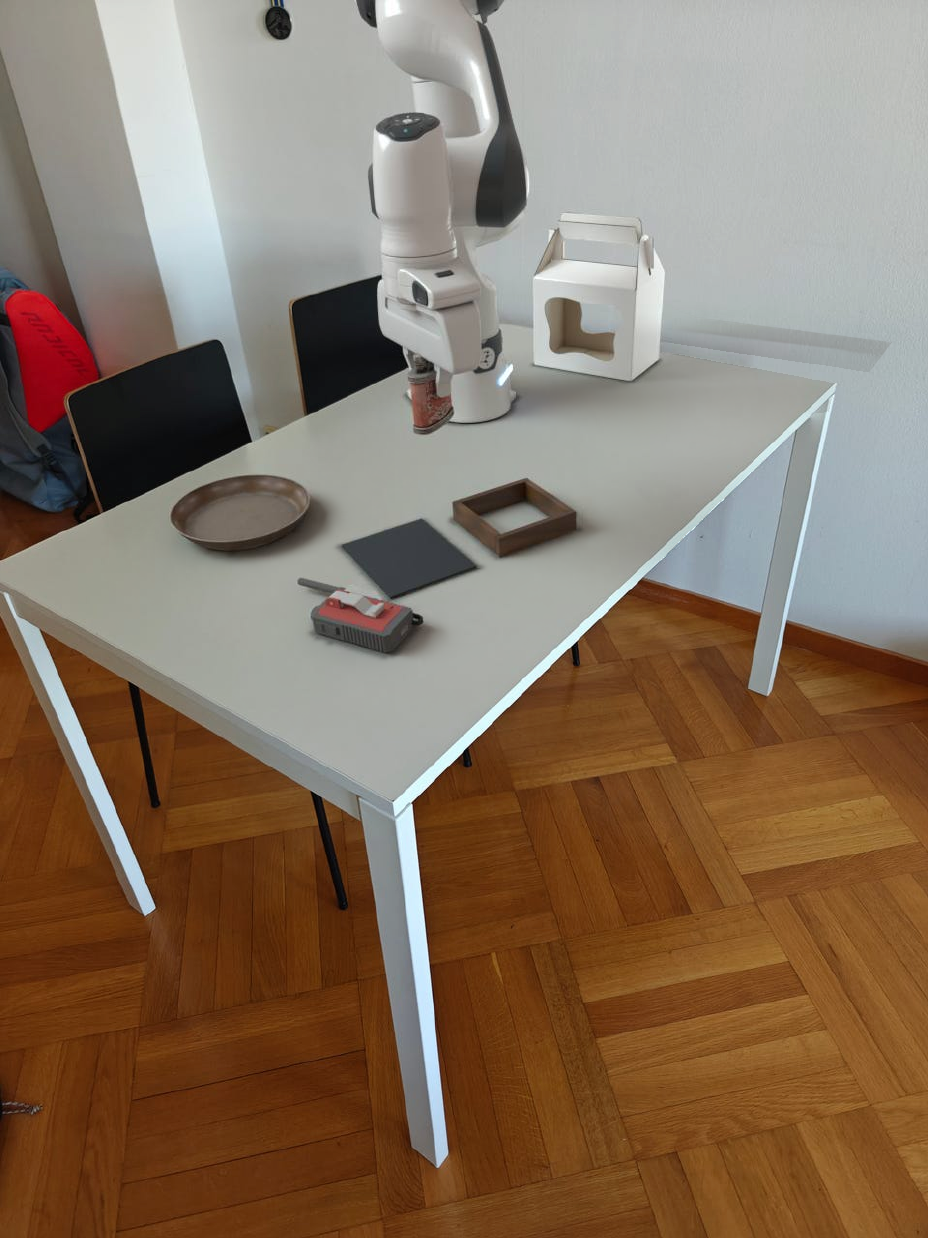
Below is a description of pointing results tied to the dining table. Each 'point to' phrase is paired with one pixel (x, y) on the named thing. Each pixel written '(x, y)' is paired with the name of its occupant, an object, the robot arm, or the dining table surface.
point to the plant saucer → (240, 511)
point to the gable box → (598, 300)
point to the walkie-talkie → (361, 617)
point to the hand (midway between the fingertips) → (430, 388)
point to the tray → (520, 538)
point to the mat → (407, 558)
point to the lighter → (427, 399)
